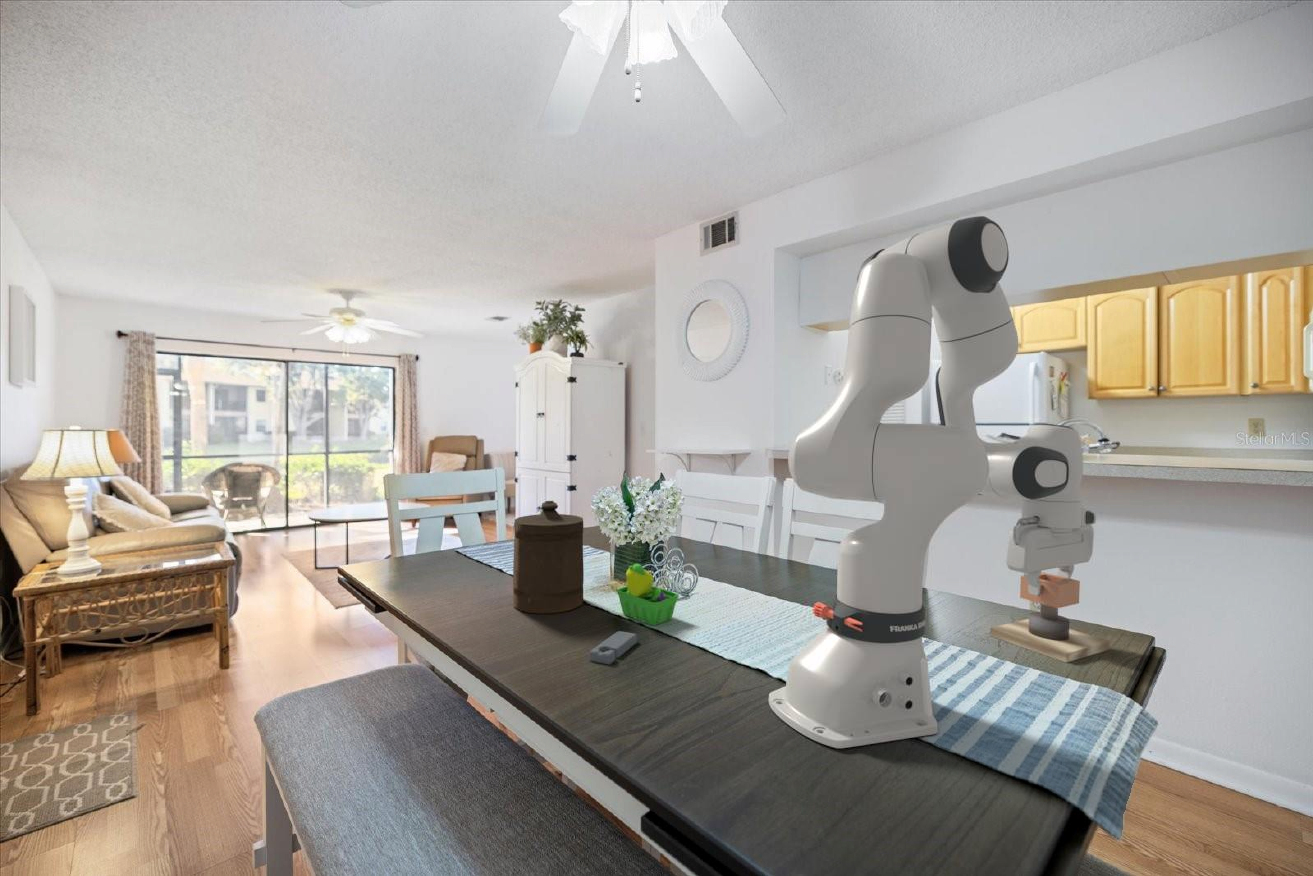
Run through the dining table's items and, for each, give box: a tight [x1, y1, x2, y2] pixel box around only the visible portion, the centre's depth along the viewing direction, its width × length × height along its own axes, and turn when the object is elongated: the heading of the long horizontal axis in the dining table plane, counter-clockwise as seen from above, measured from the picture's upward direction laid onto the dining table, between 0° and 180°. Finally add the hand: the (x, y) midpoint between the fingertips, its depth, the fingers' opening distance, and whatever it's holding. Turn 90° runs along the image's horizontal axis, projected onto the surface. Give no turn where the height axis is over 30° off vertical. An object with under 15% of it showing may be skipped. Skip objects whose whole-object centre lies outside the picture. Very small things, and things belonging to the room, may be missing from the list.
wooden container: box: [512, 500, 585, 615], centre depth 122 cm, size 15×15×22 cm
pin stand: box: [989, 603, 1111, 663], centre depth 102 cm, size 13×13×10 cm
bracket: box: [588, 630, 638, 665], centre depth 97 cm, size 4×10×2 cm, turn 156°
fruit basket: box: [616, 563, 680, 626], centre depth 114 cm, size 11×9×11 cm
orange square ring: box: [1019, 571, 1081, 609], centre depth 102 cm, size 6×6×4 cm
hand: (1048, 591), depth 102 cm, fingers closed on orange square ring, 6 cm apart
